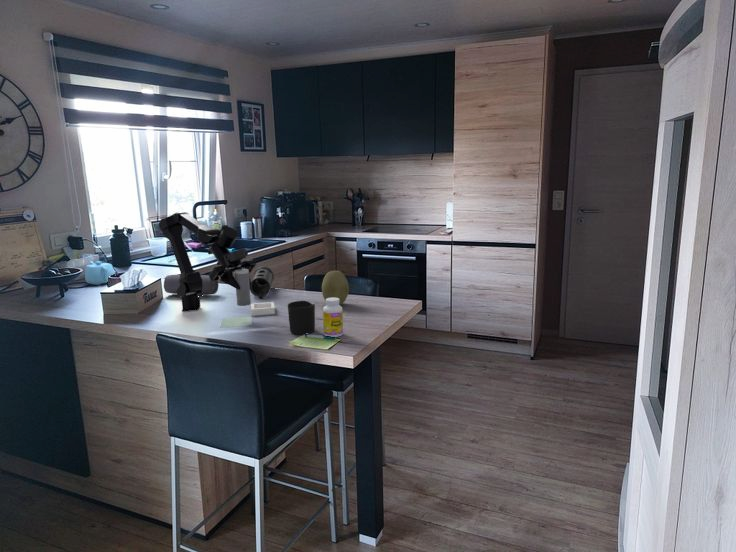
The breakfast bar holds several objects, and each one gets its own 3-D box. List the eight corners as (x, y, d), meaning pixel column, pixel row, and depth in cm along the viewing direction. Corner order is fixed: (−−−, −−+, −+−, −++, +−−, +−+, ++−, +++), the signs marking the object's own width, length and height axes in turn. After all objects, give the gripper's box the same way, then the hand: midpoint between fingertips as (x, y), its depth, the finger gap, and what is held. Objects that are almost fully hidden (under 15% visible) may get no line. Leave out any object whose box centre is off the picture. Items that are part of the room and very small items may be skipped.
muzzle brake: (249, 300, 224) (248, 277, 222) (255, 285, 251) (254, 265, 249) (271, 299, 225) (270, 276, 223) (275, 284, 252) (273, 264, 250)
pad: (220, 330, 182) (220, 327, 182) (222, 321, 193) (221, 318, 193) (251, 327, 185) (251, 324, 184) (251, 318, 195) (251, 316, 195)
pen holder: (317, 327, 184) (316, 300, 182) (313, 335, 175) (312, 307, 172) (291, 327, 184) (290, 300, 182) (286, 335, 175) (285, 308, 173)
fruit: (354, 303, 214) (353, 269, 211) (338, 310, 205) (337, 274, 202) (332, 300, 220) (331, 266, 217) (316, 306, 211) (315, 271, 208)
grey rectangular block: (235, 305, 188) (232, 271, 185) (239, 302, 193) (237, 268, 190) (248, 306, 188) (245, 271, 185) (252, 302, 192) (250, 268, 190)
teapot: (104, 278, 273) (102, 257, 271) (120, 283, 262) (117, 261, 260) (80, 282, 264) (77, 261, 262) (95, 287, 253) (91, 265, 250)
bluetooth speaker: (163, 297, 230) (161, 276, 228) (175, 292, 239) (173, 272, 237) (210, 299, 226) (208, 277, 224) (219, 294, 235) (218, 273, 233)
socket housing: (251, 318, 196) (251, 309, 195) (251, 311, 205) (250, 303, 204) (275, 316, 198) (274, 307, 197) (274, 310, 207) (273, 301, 206)
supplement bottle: (330, 339, 170) (329, 302, 168) (320, 334, 176) (318, 298, 173) (346, 335, 174) (345, 299, 171) (336, 330, 179) (335, 295, 177)
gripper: (211, 245, 180) (234, 279, 176) (251, 238, 195) (273, 269, 191) (199, 264, 186) (221, 297, 182) (239, 257, 201) (260, 287, 197)
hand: (245, 287), depth 188 cm, fingers closed on grey rectangular block, 5 cm apart
